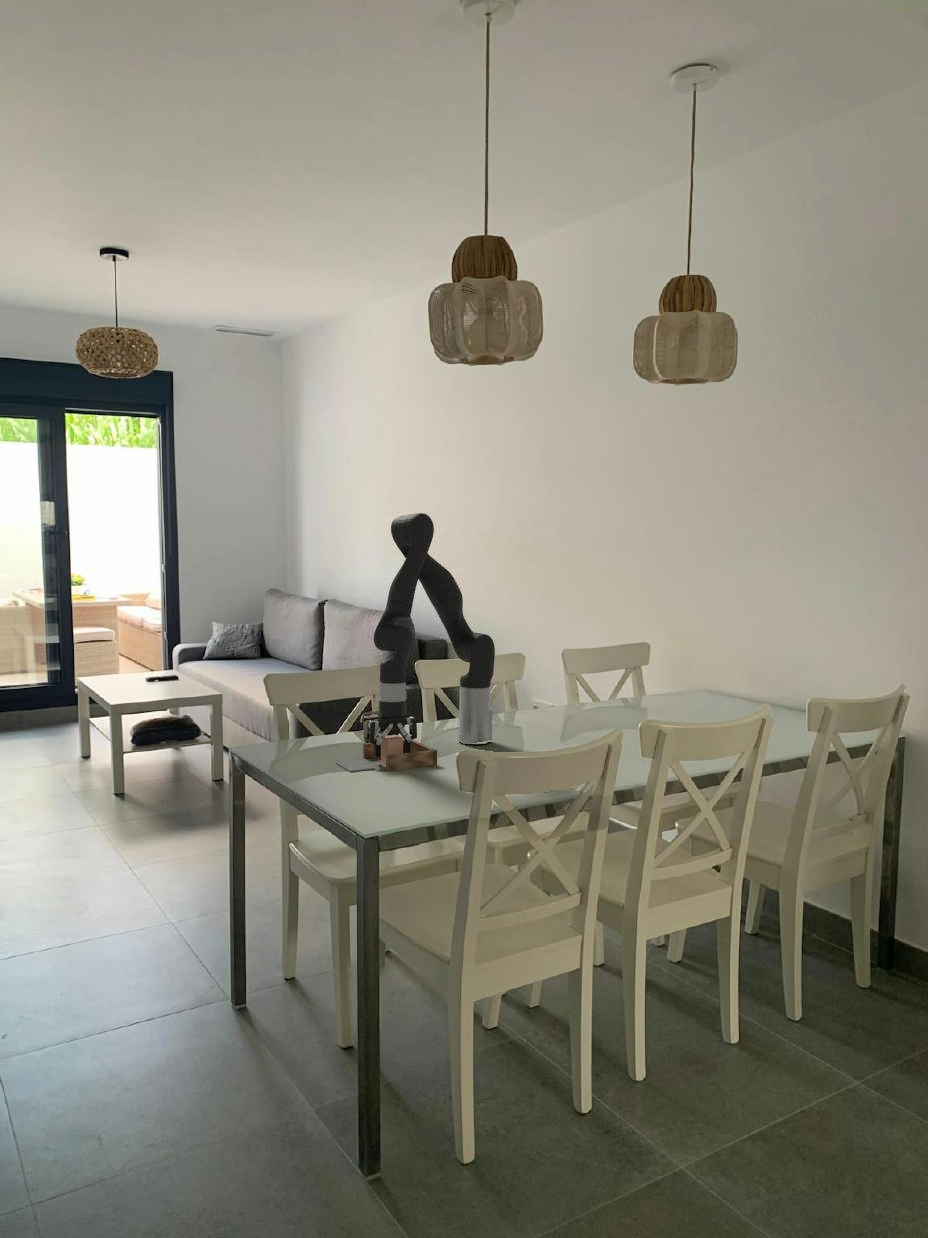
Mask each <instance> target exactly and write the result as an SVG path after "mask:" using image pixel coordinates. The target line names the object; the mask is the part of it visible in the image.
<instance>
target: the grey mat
mask: <svg viewBox="0 0 928 1238" xmlns="http://www.w3.org/2000/svg"><path fill="white" fill-rule="evenodd" d="M335 764H336V765H337V766H339V767H341V768H342V769H344V770H346V771H347V772H349V773H355V772H365V771H372V769H373V770H375V767H374V766H372V765H370V764H368V763H367V762H365V761H364V760H361V759H354V760H343V761H336V762H335Z"/></svg>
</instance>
